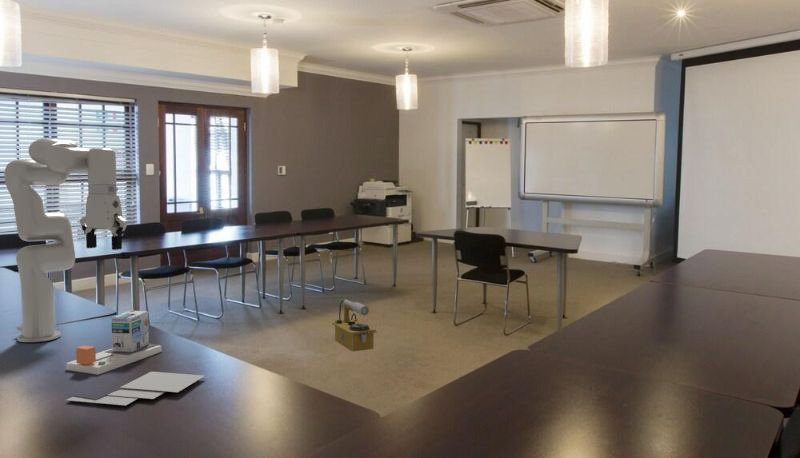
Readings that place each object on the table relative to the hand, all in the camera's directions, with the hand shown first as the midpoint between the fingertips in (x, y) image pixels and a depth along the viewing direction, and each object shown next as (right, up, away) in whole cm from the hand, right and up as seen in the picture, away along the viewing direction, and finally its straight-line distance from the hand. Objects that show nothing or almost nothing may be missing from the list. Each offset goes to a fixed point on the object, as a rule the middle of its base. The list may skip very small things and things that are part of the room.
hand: (104, 248), depth 180 cm
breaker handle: (-2, -32, -6) cm, 33 cm away
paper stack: (+19, -37, -19) cm, 45 cm away
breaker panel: (+2, -34, +4) cm, 34 cm away
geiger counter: (+70, -33, +28) cm, 83 cm away
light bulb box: (+3, -32, +11) cm, 34 cm away
